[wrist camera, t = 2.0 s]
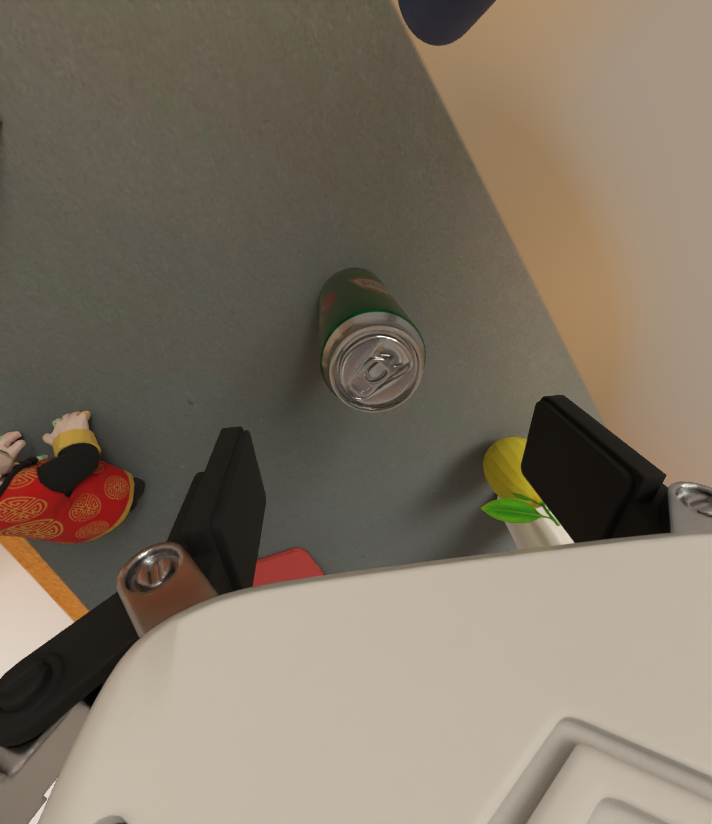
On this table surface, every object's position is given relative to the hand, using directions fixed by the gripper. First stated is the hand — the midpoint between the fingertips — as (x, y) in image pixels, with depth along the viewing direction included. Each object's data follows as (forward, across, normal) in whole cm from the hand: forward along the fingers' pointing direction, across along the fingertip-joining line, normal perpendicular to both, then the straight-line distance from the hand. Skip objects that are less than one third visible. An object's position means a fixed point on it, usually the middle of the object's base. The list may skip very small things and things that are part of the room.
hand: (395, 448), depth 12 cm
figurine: (+18, +24, +10) cm, 31 cm away
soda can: (+17, 0, 0) cm, 17 cm away
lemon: (+18, -14, +14) cm, 27 cm away
